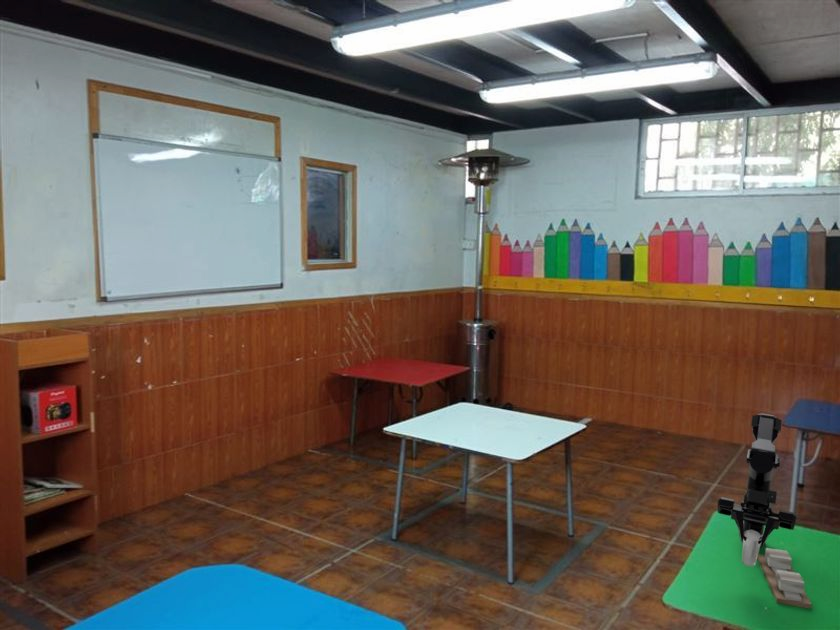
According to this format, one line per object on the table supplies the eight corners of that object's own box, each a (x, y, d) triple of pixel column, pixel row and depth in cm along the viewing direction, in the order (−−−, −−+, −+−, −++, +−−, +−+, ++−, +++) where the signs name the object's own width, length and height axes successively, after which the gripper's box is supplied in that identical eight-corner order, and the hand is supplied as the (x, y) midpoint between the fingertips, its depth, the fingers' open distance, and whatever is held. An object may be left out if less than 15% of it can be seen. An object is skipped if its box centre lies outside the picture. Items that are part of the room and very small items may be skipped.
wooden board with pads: (756, 557, 197) (758, 541, 196) (786, 562, 195) (789, 546, 194) (776, 602, 174) (778, 584, 173) (811, 608, 172) (813, 590, 171)
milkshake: (749, 570, 177) (755, 535, 175) (735, 559, 182) (740, 525, 180) (763, 568, 178) (769, 533, 177) (749, 558, 184) (754, 524, 182)
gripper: (722, 469, 184) (714, 522, 176) (800, 484, 176) (795, 541, 168) (721, 486, 192) (713, 538, 185) (795, 501, 184) (790, 557, 176)
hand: (751, 543), depth 178 cm, fingers closed on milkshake, 4 cm apart
